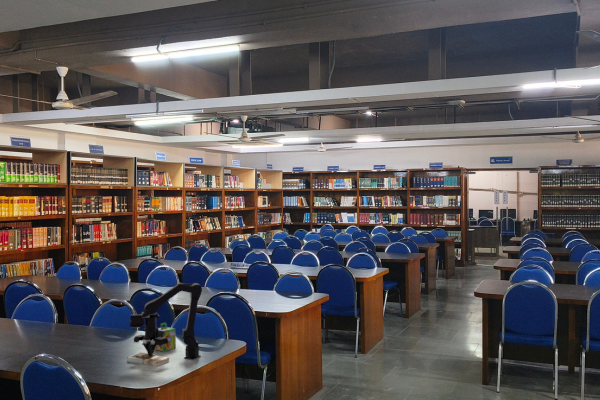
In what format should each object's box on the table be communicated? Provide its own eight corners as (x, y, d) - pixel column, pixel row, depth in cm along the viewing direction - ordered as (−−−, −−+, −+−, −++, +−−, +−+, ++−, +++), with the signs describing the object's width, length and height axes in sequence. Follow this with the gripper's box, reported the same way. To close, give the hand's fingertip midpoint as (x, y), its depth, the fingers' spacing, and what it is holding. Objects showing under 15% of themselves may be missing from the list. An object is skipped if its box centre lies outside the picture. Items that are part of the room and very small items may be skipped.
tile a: (153, 356, 276) (151, 352, 276) (147, 358, 272) (146, 354, 273) (147, 358, 277) (146, 353, 278) (142, 360, 274) (140, 355, 274)
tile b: (146, 358, 278) (146, 354, 278) (141, 360, 274) (141, 356, 274) (140, 358, 280) (140, 353, 280) (135, 360, 276) (135, 355, 276)
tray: (155, 359, 279) (155, 354, 279) (142, 364, 270) (142, 359, 270) (140, 356, 284) (140, 352, 284) (127, 361, 275) (127, 357, 275)
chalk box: (164, 352, 293) (164, 325, 293) (153, 350, 298) (152, 323, 298) (176, 348, 301) (176, 322, 301) (164, 346, 306) (164, 320, 306)
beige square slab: (169, 361, 274) (169, 357, 274) (157, 366, 266) (157, 362, 266) (155, 359, 278) (155, 355, 278) (143, 364, 270) (143, 360, 270)
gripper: (174, 324, 277) (175, 354, 277) (147, 322, 286) (148, 350, 285) (160, 329, 267) (160, 359, 267) (132, 326, 276) (133, 355, 275)
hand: (150, 356), depth 274 cm, fingers closed
